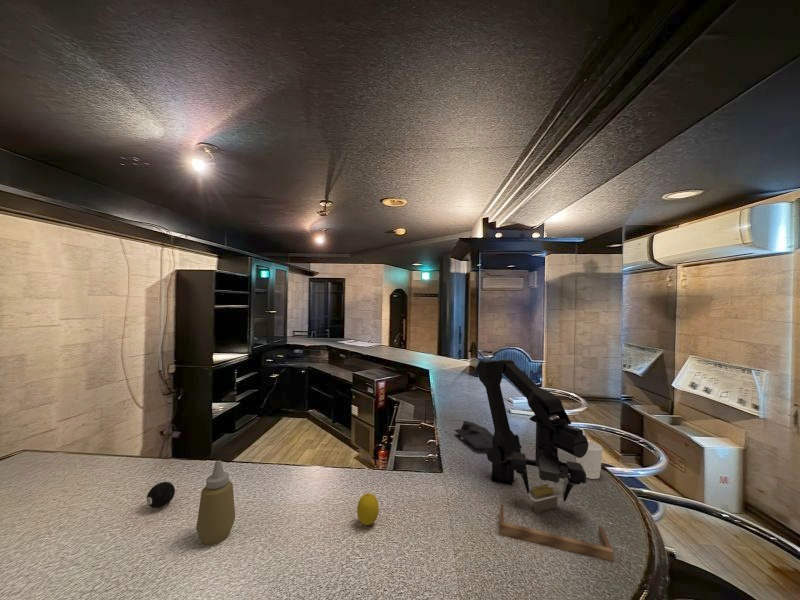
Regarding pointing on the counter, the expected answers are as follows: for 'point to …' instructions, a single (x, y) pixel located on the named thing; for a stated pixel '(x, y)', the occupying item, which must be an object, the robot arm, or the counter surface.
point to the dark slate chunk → (476, 435)
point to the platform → (544, 497)
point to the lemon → (367, 509)
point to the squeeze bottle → (216, 507)
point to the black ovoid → (160, 495)
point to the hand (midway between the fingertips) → (545, 497)
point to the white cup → (592, 460)
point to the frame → (557, 540)
